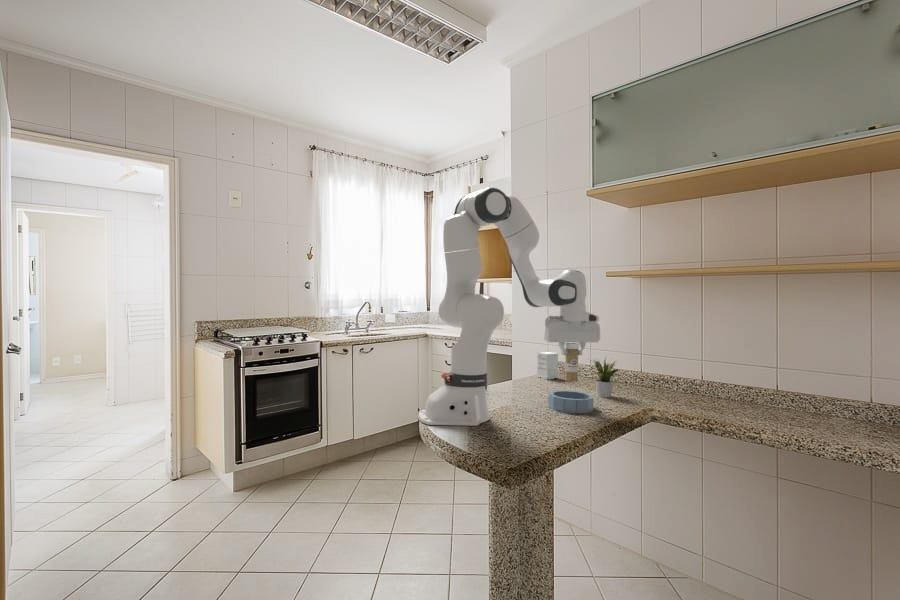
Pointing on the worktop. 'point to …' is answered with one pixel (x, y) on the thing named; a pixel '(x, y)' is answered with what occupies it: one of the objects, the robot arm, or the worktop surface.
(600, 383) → the house plant
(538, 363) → the white canister
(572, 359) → the sprinkles bottle
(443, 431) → the worktop surface
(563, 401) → the bowl
